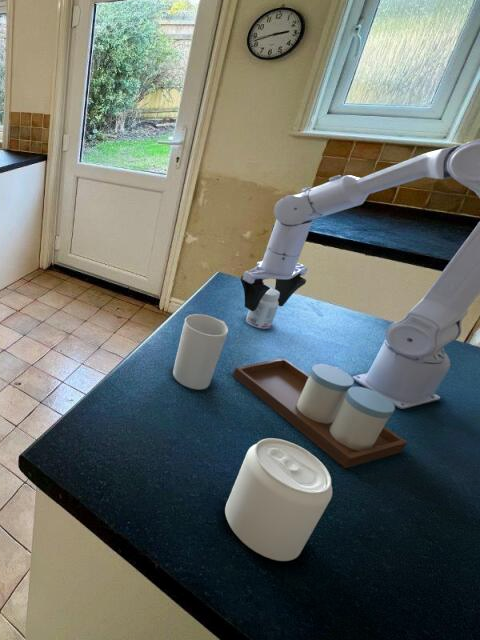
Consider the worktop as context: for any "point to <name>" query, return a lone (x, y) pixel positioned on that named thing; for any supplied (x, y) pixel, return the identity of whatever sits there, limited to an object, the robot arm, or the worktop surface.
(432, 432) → the worktop surface
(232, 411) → the worktop surface
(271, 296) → the pill bottle
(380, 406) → the blue lidded jar
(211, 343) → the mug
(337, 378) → the white jar
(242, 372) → the tray
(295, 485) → the beverage can
